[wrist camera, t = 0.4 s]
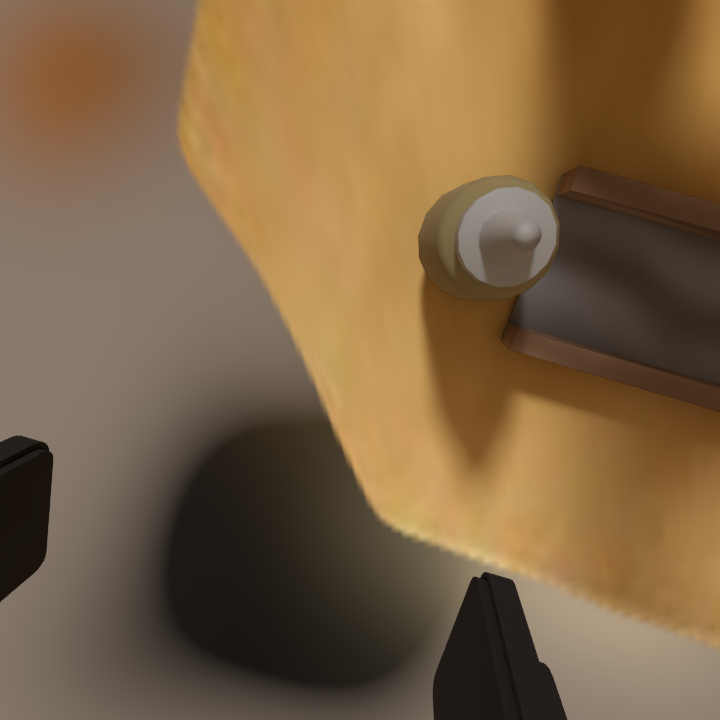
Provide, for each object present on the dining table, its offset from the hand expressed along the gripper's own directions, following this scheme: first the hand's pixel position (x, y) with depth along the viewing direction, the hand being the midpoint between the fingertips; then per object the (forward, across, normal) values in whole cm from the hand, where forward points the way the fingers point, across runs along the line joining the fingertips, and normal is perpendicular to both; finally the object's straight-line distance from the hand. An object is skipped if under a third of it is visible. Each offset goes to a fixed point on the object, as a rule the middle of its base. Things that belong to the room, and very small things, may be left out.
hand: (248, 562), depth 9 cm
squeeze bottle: (+29, -6, -9) cm, 31 cm away
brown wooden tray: (+29, -22, -8) cm, 37 cm away
